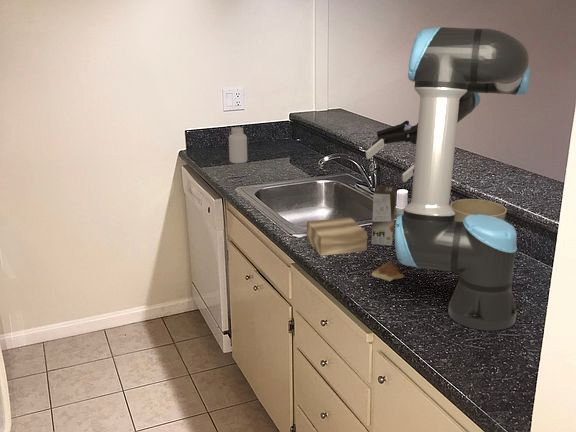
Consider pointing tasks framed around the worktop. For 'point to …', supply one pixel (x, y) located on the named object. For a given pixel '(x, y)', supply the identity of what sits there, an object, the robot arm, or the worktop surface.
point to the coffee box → (383, 215)
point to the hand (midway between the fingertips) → (384, 166)
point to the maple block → (336, 236)
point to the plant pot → (477, 208)
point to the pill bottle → (237, 146)
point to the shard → (388, 272)
